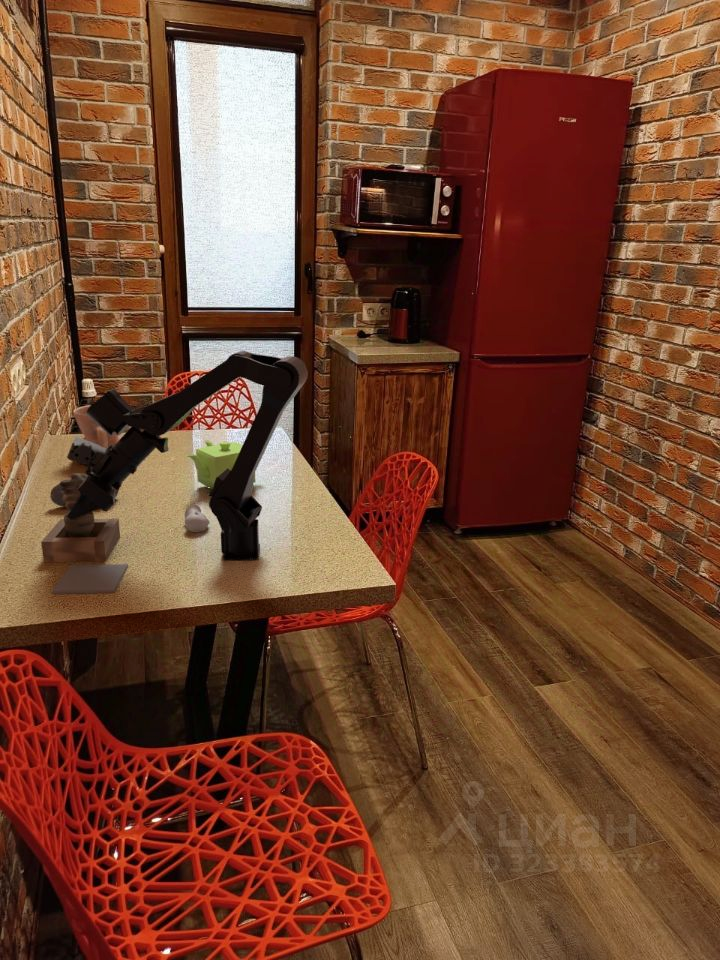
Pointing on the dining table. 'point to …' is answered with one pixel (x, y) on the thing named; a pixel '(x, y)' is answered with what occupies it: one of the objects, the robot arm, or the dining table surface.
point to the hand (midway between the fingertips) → (71, 512)
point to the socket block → (81, 543)
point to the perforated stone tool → (57, 495)
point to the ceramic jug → (93, 429)
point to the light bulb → (71, 494)
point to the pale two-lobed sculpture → (195, 519)
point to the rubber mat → (91, 579)
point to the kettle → (214, 460)
